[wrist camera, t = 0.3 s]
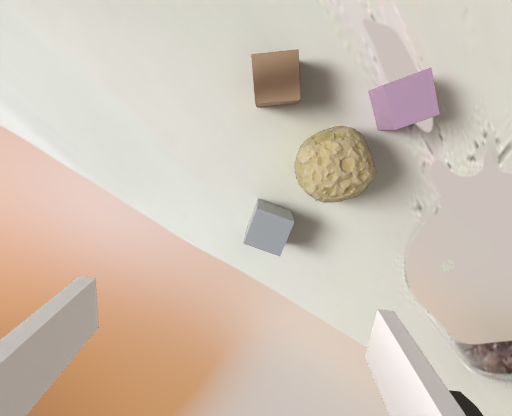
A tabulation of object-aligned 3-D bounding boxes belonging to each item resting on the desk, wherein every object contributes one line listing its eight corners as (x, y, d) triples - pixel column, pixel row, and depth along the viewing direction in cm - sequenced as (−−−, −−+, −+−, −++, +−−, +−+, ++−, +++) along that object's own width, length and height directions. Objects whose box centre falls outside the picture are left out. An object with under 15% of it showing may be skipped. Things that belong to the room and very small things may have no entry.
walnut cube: (253, 64, 35) (251, 54, 30) (294, 60, 35) (298, 49, 30) (256, 107, 36) (255, 103, 32) (295, 103, 36) (300, 99, 31)
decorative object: (356, 174, 42) (407, 143, 32) (322, 226, 38) (368, 208, 29) (307, 133, 41) (345, 90, 32) (269, 182, 38) (298, 151, 28)
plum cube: (368, 91, 35) (384, 85, 31) (408, 75, 35) (431, 67, 30) (377, 129, 37) (394, 130, 32) (416, 116, 36) (439, 114, 31)
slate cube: (257, 198, 40) (256, 208, 35) (291, 210, 40) (294, 221, 35) (246, 229, 41) (243, 243, 36) (278, 241, 41) (279, 256, 36)
